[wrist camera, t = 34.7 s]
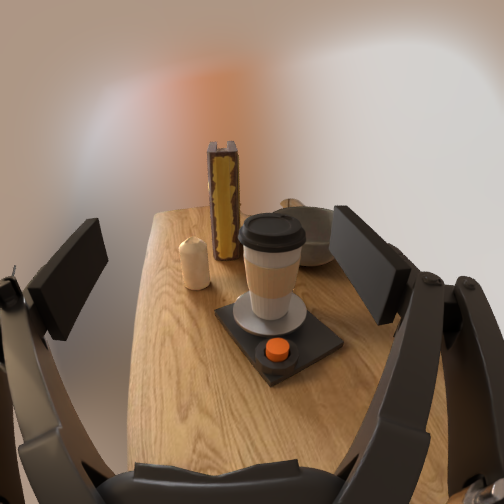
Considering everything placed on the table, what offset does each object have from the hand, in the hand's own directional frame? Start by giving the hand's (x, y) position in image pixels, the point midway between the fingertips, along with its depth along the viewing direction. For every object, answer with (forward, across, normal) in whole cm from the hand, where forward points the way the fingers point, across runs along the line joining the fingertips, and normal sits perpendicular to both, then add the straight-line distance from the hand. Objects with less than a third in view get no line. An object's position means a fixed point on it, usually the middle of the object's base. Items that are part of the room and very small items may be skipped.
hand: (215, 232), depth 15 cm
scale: (+19, +8, -28) cm, 35 cm away
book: (+54, +1, -28) cm, 61 cm away
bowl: (+42, +19, -28) cm, 54 cm away
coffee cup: (+21, +7, -24) cm, 33 cm away
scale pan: (+21, +7, -24) cm, 33 cm away
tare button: (+12, +7, -25) cm, 29 cm away
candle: (+35, -6, -28) cm, 45 cm away
